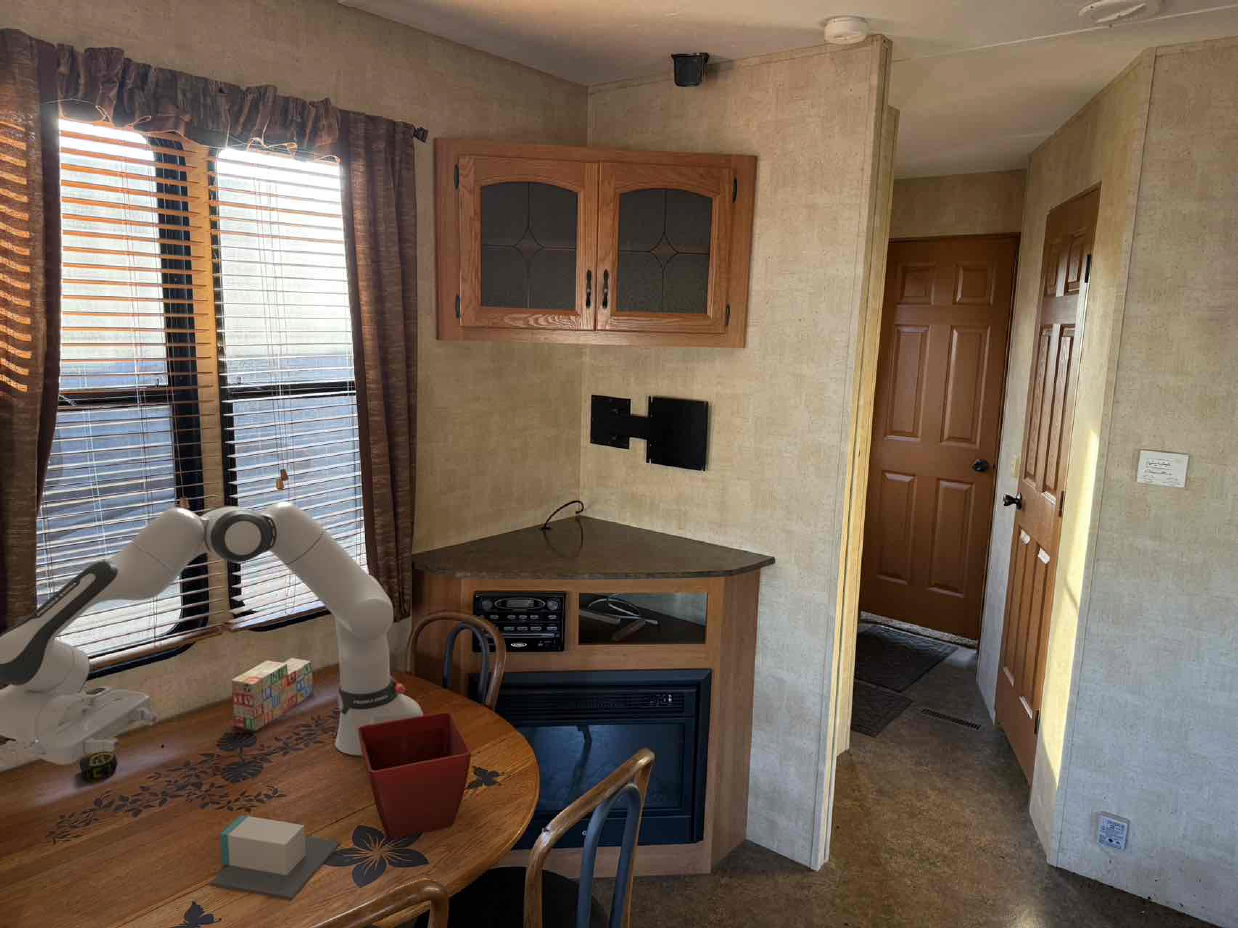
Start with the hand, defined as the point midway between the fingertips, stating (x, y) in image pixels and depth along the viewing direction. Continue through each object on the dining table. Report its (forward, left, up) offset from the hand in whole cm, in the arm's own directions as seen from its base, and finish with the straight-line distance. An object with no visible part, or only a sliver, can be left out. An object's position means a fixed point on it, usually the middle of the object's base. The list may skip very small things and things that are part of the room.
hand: (135, 732), depth 155 cm
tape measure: (+7, -37, -25) cm, 45 cm away
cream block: (-13, +7, -21) cm, 26 cm away
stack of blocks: (-33, -50, -25) cm, 65 cm away
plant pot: (-46, +12, -25) cm, 54 cm away
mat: (-20, +14, -25) cm, 35 cm away
